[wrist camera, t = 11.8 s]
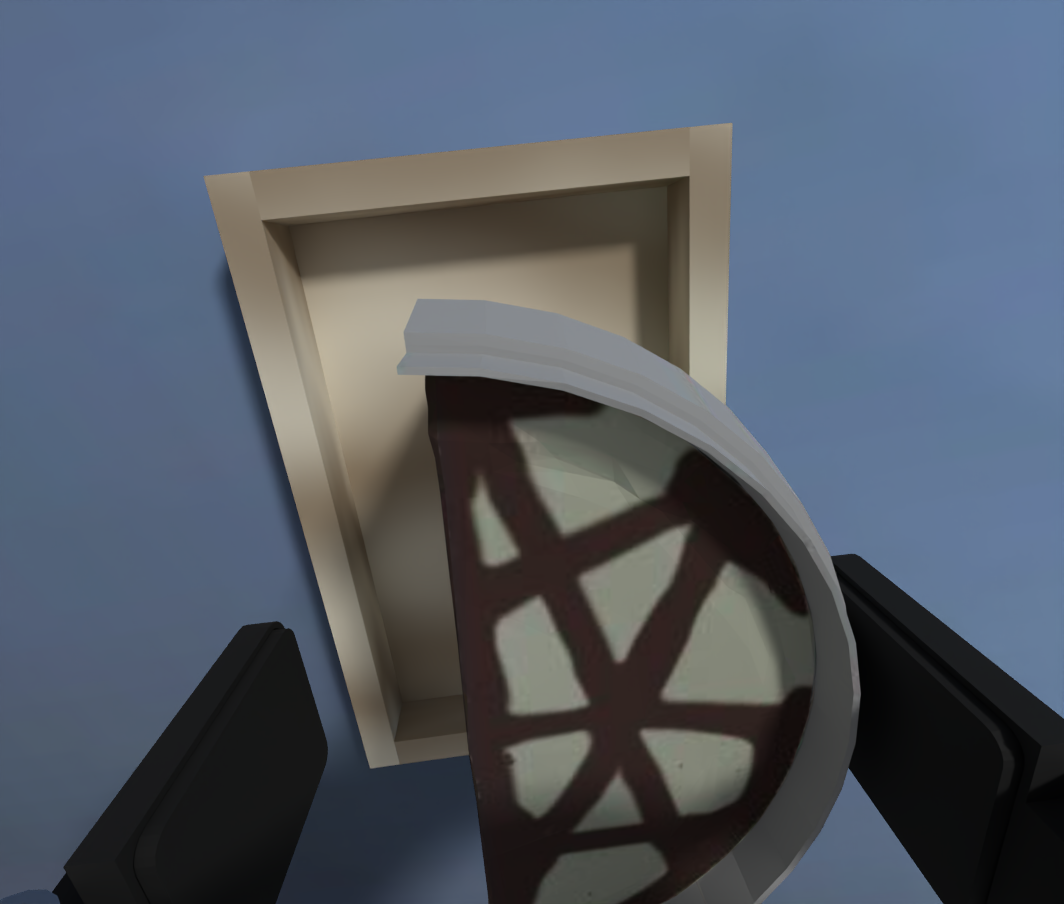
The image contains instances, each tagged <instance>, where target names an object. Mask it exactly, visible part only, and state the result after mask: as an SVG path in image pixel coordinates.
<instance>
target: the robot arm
mask: <svg viewBox="0 0 1064 904" xmlns="http://www.w3.org/2000/svg"><path fill="white" fill-rule="evenodd" d="M830 557H831V560H832V563H833V566H834V570H835V573H836V576H837V579H838V582H839V586H840V589H841V592H842V595H843V599H844V602H845V605H846V613H847V616H848V620H849V623H850V626H851V629H852V632H853V635H854V639H855V642H856V650H857V660H858V670H859V681H860V691H861V697H860V706H859V716H858V725H857V735H856V743H855V747H854V750H853V753H852V757H851V760H850V763H849V767H848V768H849V769H850V770H851V772H852V773H853V775H854V776H855V778H856V779H857V781H858V782H859V783H860V785H861V786H862V788H863V789H864V791H865V792H866V793H867V795H868V796H869V798H870V799H871V801H872V802H873V803H874V805H875V806H876V808H877V809H878V811H879V812H880V814H881V815H882V816H883V818H884V819H885V821H886V822H887V824H888V825H889V826H890V828H891V829H892V831H893V832H894V834H895V835H896V837H897V838H898V839H899V841H900V842H901V844H902V845H903V847H904V848H905V849H906V851H907V852H908V854H909V855H910V857H911V858H912V859H913V861H914V862H915V864H916V865H917V867H918V868H919V870H920V871H921V872H922V874H923V875H924V877H925V878H926V880H927V881H928V882H929V884H930V885H931V887H932V888H933V890H934V891H935V892H936V894H937V895H938V897H939V898H940V900H941V901H942V902H943V904H1064V719H1063V718H1062V717H1061V716H1060V715H1058V714H1057V713H1056V712H1055V711H1053V710H1052V709H1051V708H1049V707H1048V706H1047V705H1046V704H1044V703H1043V702H1042V701H1041V700H1039V699H1038V698H1037V697H1036V696H1034V695H1033V694H1032V693H1031V692H1029V691H1028V690H1027V689H1026V688H1024V687H1023V686H1022V685H1021V684H1019V683H1018V682H1017V681H1016V680H1014V679H1013V678H1012V677H1011V676H1009V675H1008V674H1007V673H1006V672H1004V671H1003V670H1002V669H1001V668H999V667H998V666H997V665H995V664H994V663H993V662H992V661H990V660H989V659H988V658H987V657H985V656H984V655H983V654H982V653H980V652H979V651H978V650H977V649H975V648H974V647H973V646H972V645H970V644H969V643H968V642H967V641H965V640H964V639H963V638H962V637H960V636H959V635H958V634H957V633H955V632H954V631H953V630H952V629H950V628H949V627H948V626H947V625H945V624H944V623H943V622H941V621H940V620H939V619H938V618H936V617H935V616H934V615H933V614H931V613H930V612H929V611H928V610H926V609H925V608H924V607H923V606H921V605H920V604H919V603H918V602H916V601H915V600H914V599H913V598H911V597H910V596H909V595H908V594H906V593H905V592H904V591H903V590H901V589H900V588H899V587H898V586H896V585H895V584H894V583H893V582H891V581H890V580H889V579H888V578H886V577H885V576H884V575H882V574H881V573H880V572H879V571H877V570H876V569H875V568H874V567H872V566H871V565H870V564H869V563H867V562H866V561H865V560H864V559H862V558H861V557H860V556H858V555H856V554H846V555H837V556H830ZM327 754H328V746H327V740H326V737H325V733H324V730H323V727H322V724H321V720H320V717H319V714H318V710H317V707H316V704H315V700H314V697H313V694H312V691H311V687H310V684H309V681H308V677H307V674H306V671H305V667H304V664H303V661H302V658H301V654H300V651H299V648H298V644H297V641H296V638H295V635H294V632H293V631H292V630H291V629H289V628H288V629H285V628H284V626H283V625H282V624H281V623H280V622H277V621H276V622H268V623H259V624H251V625H245V626H243V627H242V628H241V629H240V630H239V631H238V632H237V634H236V635H235V636H234V638H233V639H232V640H231V642H230V643H229V644H228V646H227V647H226V648H225V650H224V651H223V652H222V654H221V655H220V657H219V658H218V659H217V661H216V662H215V663H214V665H213V666H212V667H211V669H210V670H209V671H208V673H207V674H206V675H205V677H204V678H203V679H202V681H201V682H200V683H199V685H198V686H197V688H196V689H195V690H194V692H193V693H192V694H191V696H190V697H189V698H188V700H187V701H186V702H185V704H184V705H183V706H182V708H181V709H180V710H179V712H178V713H177V714H176V716H175V717H174V719H173V720H172V721H171V723H170V724H169V725H168V727H167V728H166V729H165V731H164V732H163V733H162V735H161V736H160V737H159V739H158V740H157V741H156V743H155V744H154V746H153V747H152V748H151V750H150V751H149V752H148V754H147V755H146V756H145V758H144V759H143V760H142V762H141V763H140V764H139V766H138V767H137V768H136V770H135V771H134V772H133V774H132V775H131V777H130V778H129V779H128V781H127V782H126V783H125V785H124V786H123V787H122V789H121V790H120V791H119V793H118V794H117V795H116V797H115V798H114V799H113V801H112V802H111V804H110V805H109V806H108V808H107V809H106V810H105V812H104V813H103V814H102V816H101V817H100V818H99V820H98V821H97V822H96V824H95V825H94V826H93V828H92V829H91V830H90V832H89V833H88V835H87V836H86V837H85V839H84V840H83V841H82V843H81V844H80V845H79V847H78V848H77V849H76V851H75V852H74V853H73V855H72V856H71V857H70V859H69V860H68V861H67V863H66V864H65V866H64V867H63V868H64V869H65V871H66V874H65V875H64V876H63V878H62V879H61V881H60V882H59V883H58V885H57V886H56V887H55V889H54V890H53V892H50V891H48V890H46V889H45V890H27V891H24V892H20V893H17V894H14V895H11V896H8V897H5V898H3V899H1V900H0V904H275V903H276V901H277V898H278V895H279V892H280V889H281V887H282V884H283V881H284V878H285V876H286V873H287V870H288V867H289V865H290V862H291V859H292V856H293V854H294V851H295V848H296V845H297V843H298V840H299V837H300V834H301V832H302V829H303V826H304V823H305V820H306V818H307V815H308V812H309V809H310V807H311V804H312V801H313V798H314V796H315V793H316V790H317V787H318V785H319V782H320V779H321V776H322V774H323V771H324V768H325V765H326V761H327Z"/></svg>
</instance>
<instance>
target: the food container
mask: <svg viewBox="0 0 1064 904" xmlns="http://www.w3.org/2000/svg"><path fill="white" fill-rule="evenodd" d="M403 333H404V340H405V346H406V354H405V356H404V357H403V358H402V360H401V361H400V363H399V364H398V365H397V373H398V375H425V393H426V399H427V405H428V435H429V439H430V442H431V446H432V449H433V453H434V456H435V462H436V469H437V476H438V482H439V489H440V497H441V506H442V515H443V524H444V532H445V541H446V550H447V559H448V568H449V577H450V585H451V593H452V602H453V610H454V618H455V627H456V635H457V643H458V653H459V663H460V673H461V683H462V693H463V702H464V712H465V722H466V732H467V742H468V751H469V757H470V764H471V770H472V776H473V783H474V789H475V795H476V801H477V809H478V818H479V826H480V834H481V842H482V850H483V858H484V866H485V874H486V882H487V890H488V904H761V903H762V902H763V901H764V900H765V899H766V898H767V897H768V896H769V895H770V894H771V893H772V892H773V891H774V890H775V889H776V888H777V886H778V885H779V884H780V883H781V882H782V881H783V880H784V879H785V878H786V877H787V876H788V875H789V874H790V873H791V872H792V871H793V869H794V868H795V866H796V865H797V864H798V862H799V861H800V859H801V858H802V857H803V855H804V854H805V853H806V851H807V850H808V848H809V847H810V846H811V844H812V843H813V841H814V840H815V839H816V837H817V836H818V834H819V833H820V831H821V829H822V827H823V825H824V823H825V822H826V820H827V818H828V816H829V814H830V812H831V810H832V808H833V806H834V804H835V802H836V800H837V798H838V796H839V794H840V792H841V790H842V787H843V783H844V780H845V777H846V773H847V770H848V767H849V763H850V760H851V757H852V753H853V750H854V747H855V743H856V735H857V725H858V716H859V706H860V697H861V691H860V681H859V670H858V660H857V650H856V642H855V639H854V635H853V632H852V629H851V626H850V623H849V620H848V616H847V613H846V605H845V602H844V599H843V595H842V592H841V589H840V586H839V582H838V579H837V576H836V573H835V570H834V566H833V563H832V560H831V557H830V554H829V552H828V550H827V548H826V546H825V545H824V543H823V541H822V539H821V537H820V535H819V534H818V532H817V530H816V528H815V526H814V525H813V523H812V521H811V519H810V517H809V515H808V514H807V512H806V510H805V508H804V506H803V505H802V503H801V501H800V500H799V498H798V497H797V496H796V494H795V493H794V491H793V490H792V488H791V487H790V485H789V484H788V483H787V481H786V480H785V478H784V477H783V475H782V474H781V472H780V471H779V470H778V468H777V467H776V465H775V464H774V462H773V461H772V459H771V458H770V457H769V455H768V454H767V452H766V451H765V450H764V449H763V447H762V446H761V445H760V444H759V443H758V442H757V440H756V439H755V438H754V437H753V436H752V435H751V433H750V432H749V431H748V430H747V429H746V427H745V426H744V425H743V424H742V423H741V422H740V420H739V419H738V418H737V417H736V416H735V415H734V413H733V412H732V411H731V410H730V409H729V408H728V407H727V406H726V405H725V404H723V403H722V402H721V401H720V400H718V399H717V398H716V397H715V396H714V395H712V394H711V393H710V392H709V391H707V390H706V389H705V388H704V387H702V386H701V385H700V384H699V383H698V382H696V381H695V380H694V379H693V378H691V377H690V376H689V375H688V374H687V373H685V372H684V371H683V370H682V369H680V368H678V367H676V366H675V365H673V364H671V363H669V362H668V361H666V360H664V359H662V358H660V357H659V356H657V355H655V354H653V353H651V352H650V351H648V350H646V349H644V348H642V347H641V346H639V345H637V344H635V343H633V342H632V341H630V340H628V339H626V338H625V337H622V336H620V335H617V334H614V333H611V332H608V331H606V330H603V329H600V328H597V327H594V326H592V325H589V324H586V323H583V322H580V321H578V320H575V319H572V318H569V317H566V316H563V315H561V314H558V313H553V312H547V311H542V310H536V309H531V308H525V307H520V306H514V305H509V304H503V303H498V302H492V301H487V300H453V299H417V301H416V304H415V306H414V308H413V311H412V313H411V316H410V318H409V320H408V323H407V325H406V327H405V330H404V332H403Z"/></svg>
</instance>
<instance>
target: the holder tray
mask: <svg viewBox="0 0 1064 904" xmlns="http://www.w3.org/2000/svg"><path fill="white" fill-rule="evenodd" d="M731 158H732V123H726V124H716V125H706V126H696V127H686V128H676V129H666V130H656V131H646V132H637V133H627V134H617V135H607V136H597V137H587V138H577V139H567V140H557V141H547V142H537V143H527V144H518V145H508V146H498V147H488V148H478V149H468V150H458V151H448V152H438V153H428V154H418V155H408V156H398V157H389V158H379V159H369V160H359V161H349V162H339V163H329V164H319V165H309V166H299V167H289V168H279V169H269V170H260V171H250V172H240V173H230V174H220V175H210V176H204V179H205V183H206V187H207V190H208V194H209V197H210V201H211V204H212V208H213V211H214V215H215V219H216V222H217V226H218V229H219V233H220V236H221V240H222V243H223V247H224V251H225V254H226V258H227V261H228V265H229V268H230V272H231V275H232V279H233V283H234V286H235V290H236V293H237V297H238V300H239V304H240V307H241V311H242V315H243V318H244V322H245V325H246V329H247V332H248V336H249V339H250V343H251V347H252V350H253V354H254V357H255V361H256V364H257V368H258V371H259V375H260V379H261V382H262V386H263V389H264V393H265V396H266V400H267V403H268V407H269V411H270V414H271V418H272V421H273V425H274V428H275V432H276V435H277V439H278V443H279V446H280V450H281V453H282V457H283V460H284V464H285V467H286V471H287V475H288V478H289V482H290V485H291V489H292V492H293V496H294V499H295V503H296V507H297V510H298V514H299V517H300V521H301V524H302V528H303V531H304V535H305V539H306V542H307V546H308V549H309V553H310V556H311V560H312V563H313V567H314V571H315V574H316V578H317V581H318V585H319V588H320V592H321V595H322V599H323V603H324V606H325V610H326V613H327V617H328V620H329V624H330V627H331V631H332V635H333V638H334V642H335V645H336V649H337V652H338V656H339V659H340V663H341V667H342V670H343V674H344V677H345V681H346V684H347V688H348V691H349V695H350V699H351V702H352V706H353V709H354V713H355V716H356V720H357V723H358V727H359V731H360V734H361V738H362V741H363V745H364V748H365V752H366V755H367V759H368V763H369V766H370V768H378V767H385V766H392V765H399V764H406V763H414V762H421V761H428V760H435V759H442V758H450V757H457V756H464V755H469V751H468V742H467V732H466V722H465V712H464V702H463V693H462V683H461V673H460V663H459V653H458V643H457V635H456V627H455V618H454V610H453V602H452V593H451V585H450V577H449V568H448V559H447V550H446V541H445V532H444V524H443V515H442V506H441V497H440V489H439V482H438V476H437V469H436V462H435V456H434V453H433V449H432V446H431V442H430V439H429V435H428V405H427V399H426V393H425V375H398V373H397V365H398V364H399V363H400V361H401V360H402V358H403V357H404V356H405V354H406V346H405V340H404V333H403V332H404V330H405V327H406V325H407V323H408V320H409V318H410V316H411V313H412V311H413V308H414V306H415V304H416V301H417V299H453V300H487V301H492V302H498V303H503V304H509V305H514V306H520V307H525V308H531V309H536V310H542V311H547V312H553V313H558V314H561V315H563V316H566V317H569V318H572V319H575V320H578V321H580V322H583V323H586V324H589V325H592V326H594V327H597V328H600V329H603V330H606V331H608V332H611V333H614V334H617V335H620V336H622V337H625V338H626V339H628V340H630V341H632V342H633V343H635V344H637V345H639V346H641V347H642V348H644V349H646V350H648V351H650V352H651V353H653V354H655V355H657V356H659V357H660V358H662V359H664V360H666V361H668V362H669V363H671V364H673V365H675V366H676V367H678V368H680V369H682V370H683V371H684V372H685V373H687V374H688V375H689V376H690V377H691V378H693V379H694V380H695V381H696V382H698V383H699V384H700V385H701V386H702V387H704V388H705V389H706V390H707V391H709V392H710V393H711V394H712V395H714V396H715V397H716V398H717V399H718V400H720V401H721V402H722V403H723V404H725V405H726V365H727V323H728V282H729V241H730V199H731Z"/></svg>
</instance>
